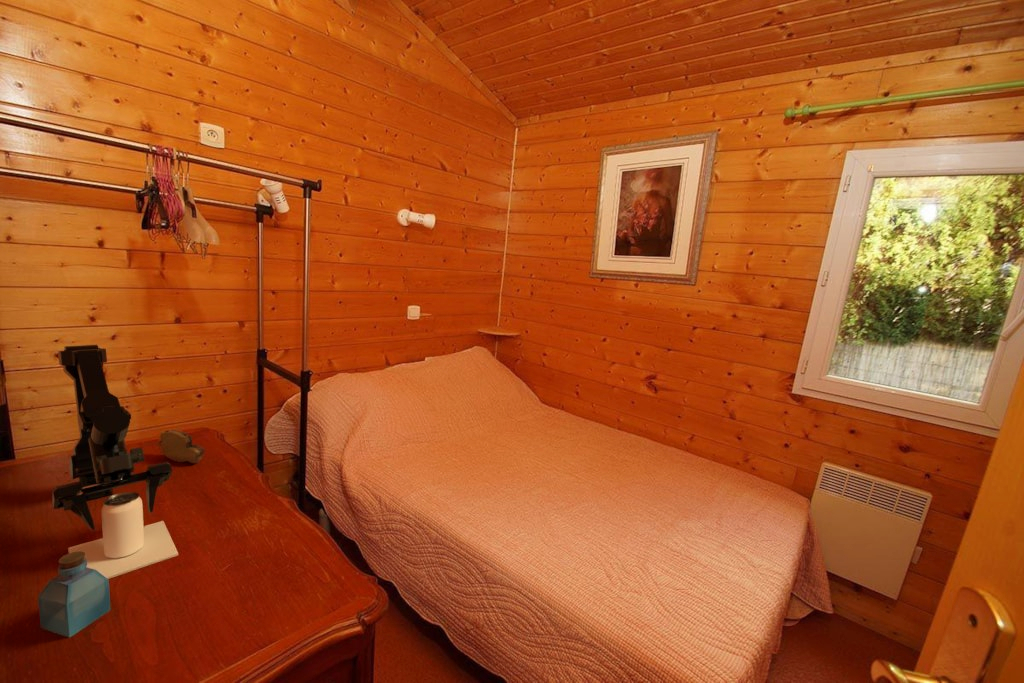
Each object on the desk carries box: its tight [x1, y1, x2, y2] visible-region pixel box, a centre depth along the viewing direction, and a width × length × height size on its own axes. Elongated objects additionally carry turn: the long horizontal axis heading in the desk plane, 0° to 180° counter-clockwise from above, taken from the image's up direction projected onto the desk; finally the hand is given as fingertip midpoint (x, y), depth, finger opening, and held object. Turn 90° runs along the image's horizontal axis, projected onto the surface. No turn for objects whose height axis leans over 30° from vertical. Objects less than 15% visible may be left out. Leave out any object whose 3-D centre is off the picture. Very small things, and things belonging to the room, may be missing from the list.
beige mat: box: [67, 520, 179, 580], centre depth 93 cm, size 16×16×1 cm
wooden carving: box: [155, 429, 205, 464], centre depth 134 cm, size 16×5×10 cm, turn 80°
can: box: [100, 491, 145, 559], centre depth 92 cm, size 6×6×12 cm
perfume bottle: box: [37, 551, 111, 639], centre depth 75 cm, size 6×6×12 cm
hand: (123, 521), depth 91 cm, fingers open, 9 cm apart
